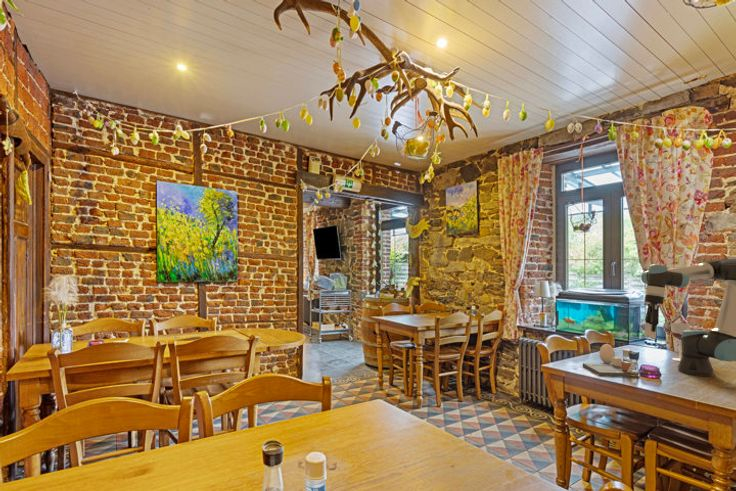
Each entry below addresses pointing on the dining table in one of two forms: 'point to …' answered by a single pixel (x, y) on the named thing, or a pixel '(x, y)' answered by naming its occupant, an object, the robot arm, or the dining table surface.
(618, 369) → the beige flat board
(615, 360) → the fader
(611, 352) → the egg
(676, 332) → the wineglass
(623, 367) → the fader
